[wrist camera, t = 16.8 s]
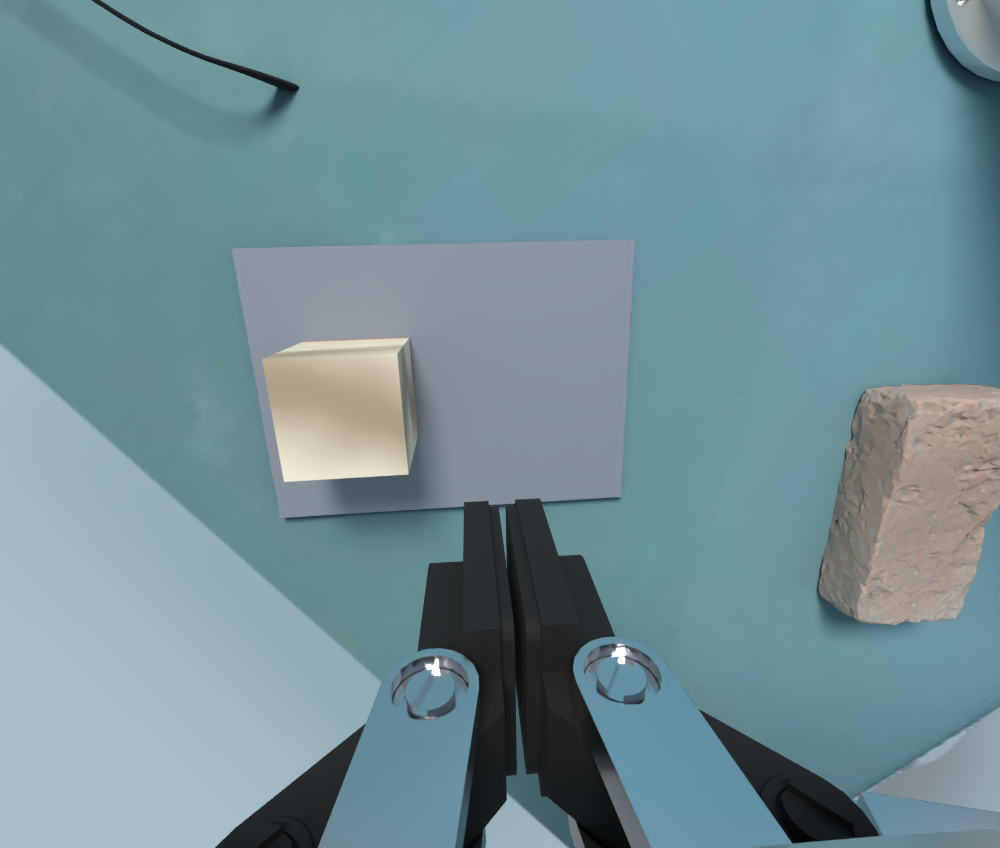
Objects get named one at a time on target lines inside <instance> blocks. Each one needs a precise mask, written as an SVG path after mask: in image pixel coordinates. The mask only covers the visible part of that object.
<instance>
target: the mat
mask: <svg viewBox="0 0 1000 848" xmlns="http://www.w3.org/2000/svg"><path fill="white" fill-rule="evenodd" d="M634 248H635V239H625V240H581V241H537V242H494V243H450V244H406V245H362V246H318V247H274V248H231V249H232V254H233V260H234V265H235V271H236V276H237V282H238V287H239V293H240V298H241V304H242V309H243V315H244V321H245V326H246V332H247V337H248V343H249V348H250V354H251V359H252V365H253V370H254V376H255V381H256V387H257V392H258V398H259V404H260V409H261V415H262V420H263V426H264V431H265V437H266V442H267V448H268V453H269V459H270V464H271V470H272V475H273V481H274V486H275V492H276V498H277V503H278V509H279V514H280V518H288V517H304V516H321V515H337V514H353V513H369V512H385V511H401V510H417V509H433V508H449V507H464V502H474V501H489V505H498V504H514V503H515V499H535V498H540V500H541V502H546V501H562V500H578V499H595V498H611V497H621V492H622V473H623V454H624V436H625V417H626V398H627V379H628V361H629V342H630V323H631V304H632V286H633V267H634ZM407 337H410V347H411V359H412V371H413V382H414V394H415V405H416V417H417V429H418V438H417V442H416V446H415V451H414V455H413V459H412V463H411V467H410V471H409V474H407V475H391V476H374V477H358V478H342V479H325V480H309V481H292V482H284V479H283V474H282V468H281V462H280V457H279V451H278V446H277V440H276V435H275V429H274V423H273V418H272V412H271V407H270V401H269V395H268V390H267V384H266V379H265V373H264V367H263V362H262V359H264V358H266V357H269V356H271V355H273V354H276V353H278V352H280V351H283V350H285V349H287V348H290V347H292V346H294V345H297V344H299V343H301V342H309V341H333V340H358V339H382V338H407Z"/></svg>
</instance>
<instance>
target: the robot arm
mask: <svg viewBox="0 0 1000 848" xmlns="http://www.w3.org/2000/svg"><path fill="white" fill-rule="evenodd" d="M930 1H931V8H932V11H933V15H934V18H935V22H936V25H937V28H938V31H939V33H940V35H941V37H942V39H943V40H944V42H945V44H946V46H947V48H948V50H949V51H950V52H951V53H952V54H953V55H954V57H955V58H956V59H957V60H958V61H959V62H960V63H961V64H962V65H963V66H964V67H966V68H967V69H969V70H970V71H972V72H973V73H975V74H976V75H978V76H981V77H984V78H987V79H990V80H993V81H996V82H1000V0H930ZM506 547H507V567H506V560H505V552H504V545H503V537H502V529H501V522H500V514H499V507H489V501H474V502H464V551H463V561H461V562H444V563H430V564H429V568H428V575H427V583H426V591H425V598H424V606H423V614H422V622H421V629H420V637H419V645H418V652H415V653H412V654H410V655H408V656H406V657H405V658H403V659H401V660H400V661H398V662H397V663H396V664H395V665H394V666H393V667H392V668H391V669H390V670H389V671H388V673H387V674H386V676H385V678H384V680H383V681H382V683H381V686H380V689H379V691H378V694H377V696H376V699H375V701H374V704H373V706H372V709H371V712H370V715H369V717H368V719H367V722H366V724H365V725H363V726H362V727H361V728H359V729H358V730H357V731H356V732H355V733H353V734H352V735H351V736H350V737H348V738H347V739H346V740H345V741H343V742H342V743H341V744H340V745H338V746H337V747H336V748H335V749H333V750H332V751H331V752H330V753H328V754H327V755H326V756H325V757H323V758H322V759H321V760H320V761H318V762H317V763H316V764H315V765H313V766H312V767H311V768H310V769H308V770H307V771H306V772H305V773H304V774H302V775H301V776H300V777H298V778H297V779H296V780H295V781H293V782H292V783H291V784H290V785H289V786H287V787H286V788H285V789H284V790H282V791H281V792H280V793H278V794H277V795H276V796H275V797H274V798H273V799H271V800H270V801H268V802H267V803H266V804H265V805H264V806H262V807H261V808H260V809H259V810H258V811H256V812H255V813H254V814H252V815H251V816H250V817H249V818H247V819H246V820H245V821H244V822H242V824H240V825H239V826H237V827H236V828H235V829H234V830H233V831H232V832H231V833H230V834H229V835H228V836H227V837H226V838H225V839H224V840H222V841H221V842H220V843H219V844H218V845H217V847H216V848H485V845H486V833H485V826H486V825H487V824H488V823H489V821H490V820H491V819H492V818H493V816H494V815H495V814H496V813H497V811H498V810H499V809H500V808H501V806H502V805H503V804H504V803H505V802H506V800H507V799H506V798H507V795H506V776H510V775H516V774H517V761H516V692H515V682H516V691H517V699H518V708H519V716H520V725H521V734H522V742H523V751H524V759H525V767H526V773H527V774H534V773H538V777H539V784H540V791H541V797H543V796H547V797H548V798H549V799H551V800H552V801H553V802H554V803H555V804H557V805H558V806H559V807H560V808H561V809H563V810H564V811H565V812H566V813H567V814H568V822H569V827H570V833H571V837H572V840H573V843H574V846H575V848H1000V812H994V811H987V810H980V809H974V808H967V807H961V806H954V805H947V804H940V803H933V802H928V801H921V800H914V799H907V798H900V797H895V796H888V795H881V794H874V793H868V792H862V791H861V792H860V795H859V799H858V800H852V799H850V798H849V797H848V796H847V795H846V794H845V793H844V792H842V791H841V790H839V789H838V788H836V787H835V786H834V785H832V784H831V783H829V782H828V781H826V780H825V779H823V778H821V777H820V776H818V775H816V774H814V773H812V772H811V771H809V770H807V769H805V768H803V767H802V766H800V765H798V764H796V763H794V762H793V761H791V760H789V759H787V758H785V757H784V756H782V755H780V754H778V753H776V752H775V751H773V750H771V749H769V748H767V747H766V746H764V745H762V744H760V743H758V742H757V741H755V740H753V739H751V738H749V737H748V736H746V735H744V734H742V733H740V732H739V731H737V730H735V729H733V728H731V727H730V726H728V725H726V724H724V723H723V722H721V721H719V720H717V719H715V718H714V717H712V716H710V715H708V714H706V713H705V712H703V711H701V710H699V709H698V708H697V707H696V705H695V704H694V703H693V701H692V700H691V698H690V697H689V695H688V694H687V693H686V691H685V690H684V688H683V687H682V685H681V684H680V683H679V681H678V680H677V678H676V677H675V675H674V674H673V673H672V671H671V670H670V668H669V667H668V665H667V664H666V663H665V662H664V661H663V660H662V658H661V657H660V656H659V655H658V654H657V653H656V652H654V651H653V650H651V649H650V648H648V647H647V646H645V645H644V644H641V643H639V642H636V641H634V640H631V639H627V638H621V637H615V635H614V633H613V630H612V628H611V625H610V623H609V620H608V618H607V615H606V613H605V610H604V608H603V605H602V603H601V600H600V598H599V595H598V593H597V590H596V588H595V585H594V583H593V580H592V578H591V575H590V573H589V570H588V568H587V565H586V563H585V560H584V558H583V557H582V556H581V555H568V556H558V553H557V550H556V547H555V544H554V541H553V538H552V535H551V531H550V528H549V525H548V522H547V519H546V516H545V512H544V509H543V506H542V503H541V500H540V498H535V499H515V506H506Z"/></svg>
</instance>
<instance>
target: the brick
mask: <svg viewBox="0 0 1000 848" xmlns="http://www.w3.org/2000/svg"><path fill="white" fill-rule="evenodd" d="M852 435H853V438H852V440H851V441H850V442H848V444H847V446H846V459H845V461H844V464H843V469H842V473H841V478H840V481H839V485H838V494H837V497H836V501H835V508H834V515H833V517H832V522H831V526H830V532H829V540H828V542H827V545H826V548H825V552H824V556H823V563H822V568H821V576H820V579H819V586H818V589H819V592H820V594H821V596H822V597H823V598H825V599H826V600H827V601H828V602H830V603H831V604H834V607H836V608H837V609H838V610H840V611H841V612H842V613H844V614H846V615H847V616H851V617H854V618H855V619H856V620H858V621H859V622H864V623H878V624H882V625H884V624H891V625H897V624H899V623H901V622H903V621H906V622H920V621H922V620H926V621H937V620H950V619H953V618H956V617H957V616H958V614H959V613H960V611H961V608H962V606H963V604H964V598H965V596H966V594H967V592H968V590H969V586H970V584H971V583H972V582H973V581H974V576H975V574H976V572H977V564H978V561H979V558H980V554H981V549H982V544H983V540H984V531H985V530H984V527H983V526H982V525H984V524H986V523H987V522H988V520H989V518H990V516H991V513H992V511H994V510H995V509H996V508H997V507H998V505H999V503H1000V389H998V388H995V387H989V386H983V385H966V384H952V385H925V386H922V385H906V384H904V385H900V386H898V387H891V386H882V387H881V388H872V389H867V390H866V391H865V393H864V394H863V396H862V398H861V401H860V403H859V405H858V407H857V410H856V414H855V417H854V421H853V423H852Z"/></svg>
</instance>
